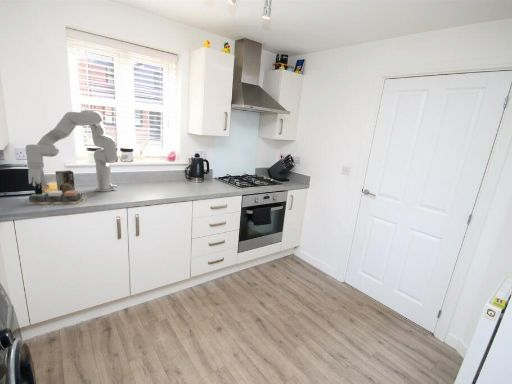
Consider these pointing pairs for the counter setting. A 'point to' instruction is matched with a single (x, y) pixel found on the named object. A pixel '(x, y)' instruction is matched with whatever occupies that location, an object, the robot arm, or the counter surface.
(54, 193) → the cream button
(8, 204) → the counter surface
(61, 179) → the coffee box
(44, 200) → the button panel
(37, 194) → the sage button
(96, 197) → the counter surface
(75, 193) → the terracotta button
